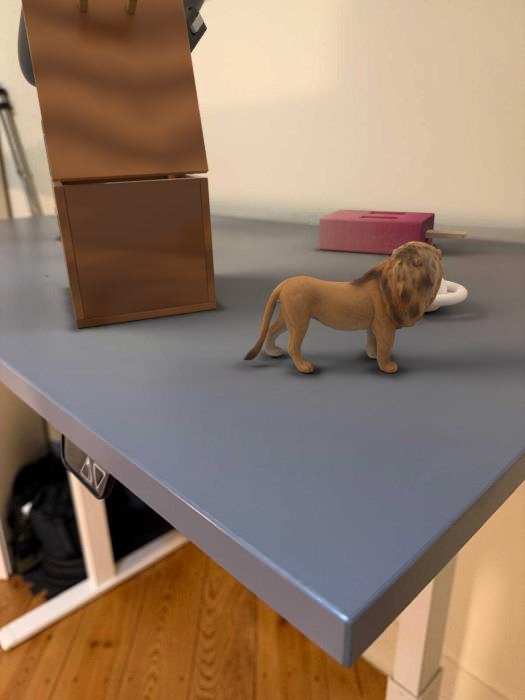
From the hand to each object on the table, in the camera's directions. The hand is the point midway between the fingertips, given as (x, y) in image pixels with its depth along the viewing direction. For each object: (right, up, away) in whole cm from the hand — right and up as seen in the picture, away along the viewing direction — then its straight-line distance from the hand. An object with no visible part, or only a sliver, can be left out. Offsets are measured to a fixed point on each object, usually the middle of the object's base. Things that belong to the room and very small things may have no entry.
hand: (108, 98), depth 53 cm
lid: (+2, -1, -5) cm, 6 cm away
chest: (+1, -19, +7) cm, 20 cm away
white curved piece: (+31, -21, 0) cm, 37 cm away
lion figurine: (+21, -26, -11) cm, 35 cm away
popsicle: (+34, -10, +27) cm, 45 cm away
